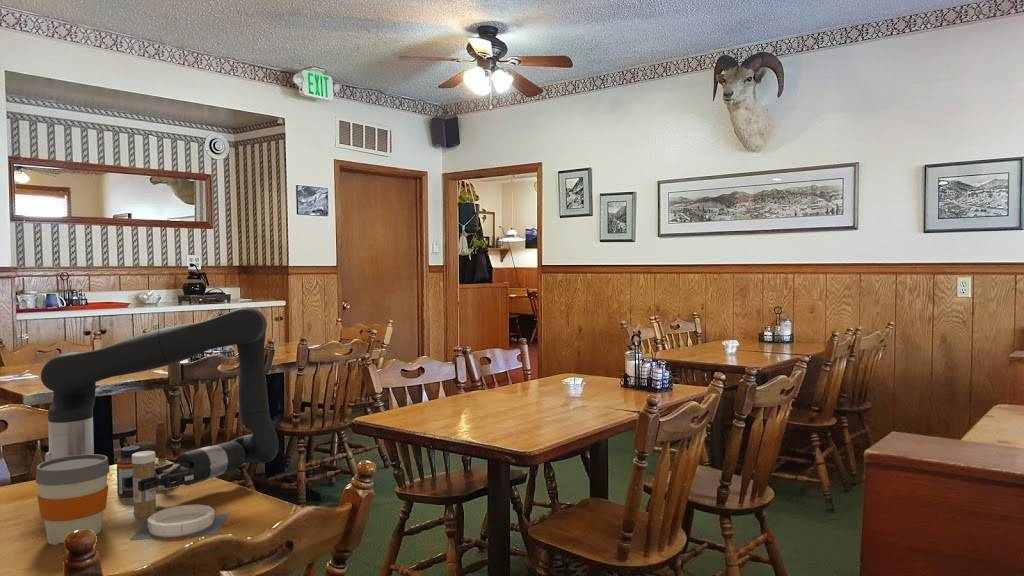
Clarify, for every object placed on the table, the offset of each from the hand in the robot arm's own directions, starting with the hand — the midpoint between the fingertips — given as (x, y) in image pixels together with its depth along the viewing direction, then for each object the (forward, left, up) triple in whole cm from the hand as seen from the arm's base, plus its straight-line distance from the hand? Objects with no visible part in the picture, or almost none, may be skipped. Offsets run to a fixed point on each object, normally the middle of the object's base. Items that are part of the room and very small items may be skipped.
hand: (132, 484), depth 148 cm
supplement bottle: (-6, +18, -8) cm, 21 cm away
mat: (+12, -8, -7) cm, 16 cm away
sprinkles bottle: (+2, +2, -7) cm, 8 cm away
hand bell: (-1, +24, -8) cm, 25 cm away
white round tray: (+12, -8, -7) cm, 16 cm away
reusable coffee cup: (-8, -8, -8) cm, 14 cm away
